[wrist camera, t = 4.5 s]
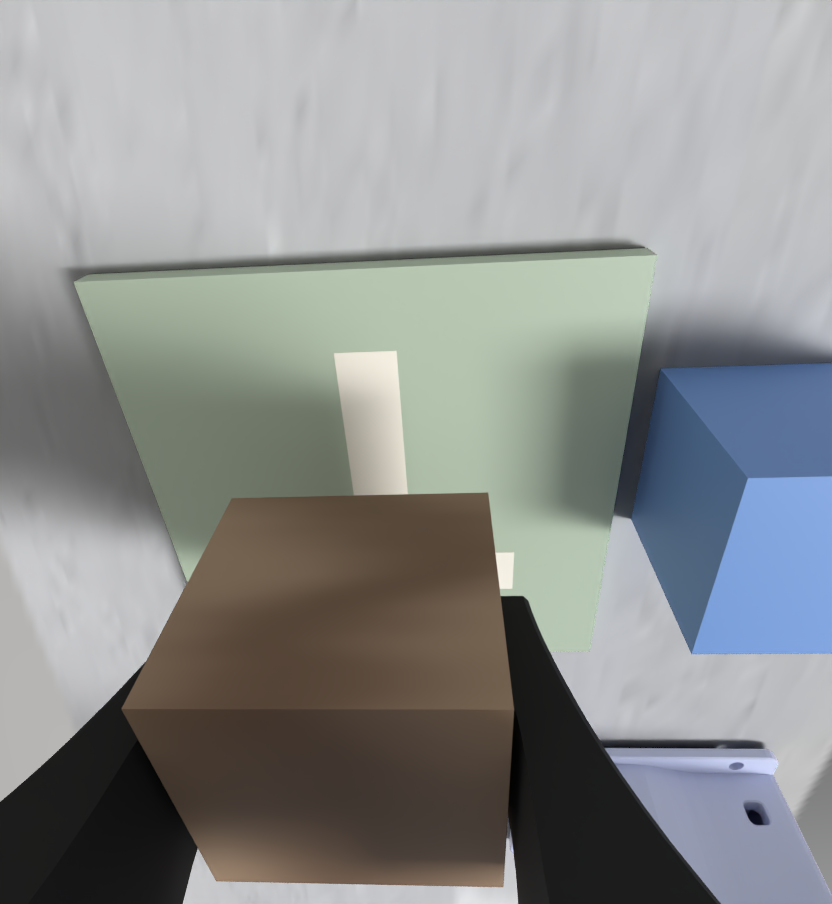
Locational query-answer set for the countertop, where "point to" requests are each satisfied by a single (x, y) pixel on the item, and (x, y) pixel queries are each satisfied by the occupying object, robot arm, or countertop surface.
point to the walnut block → (338, 693)
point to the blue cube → (742, 506)
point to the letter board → (392, 396)
